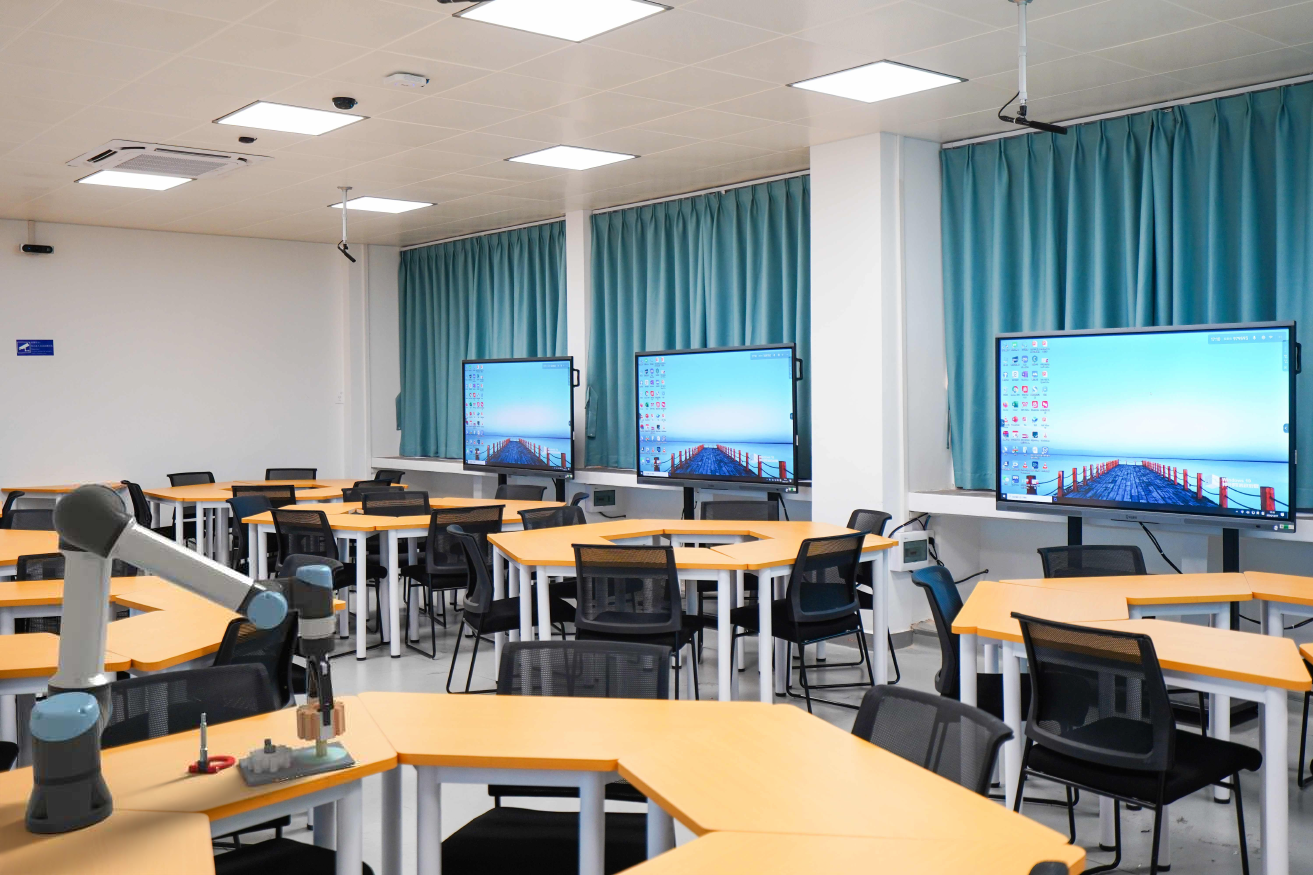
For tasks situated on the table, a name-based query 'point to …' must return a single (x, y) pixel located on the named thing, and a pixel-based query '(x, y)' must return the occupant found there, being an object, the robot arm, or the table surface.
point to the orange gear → (310, 720)
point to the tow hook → (204, 761)
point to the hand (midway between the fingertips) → (321, 732)
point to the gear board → (292, 761)
